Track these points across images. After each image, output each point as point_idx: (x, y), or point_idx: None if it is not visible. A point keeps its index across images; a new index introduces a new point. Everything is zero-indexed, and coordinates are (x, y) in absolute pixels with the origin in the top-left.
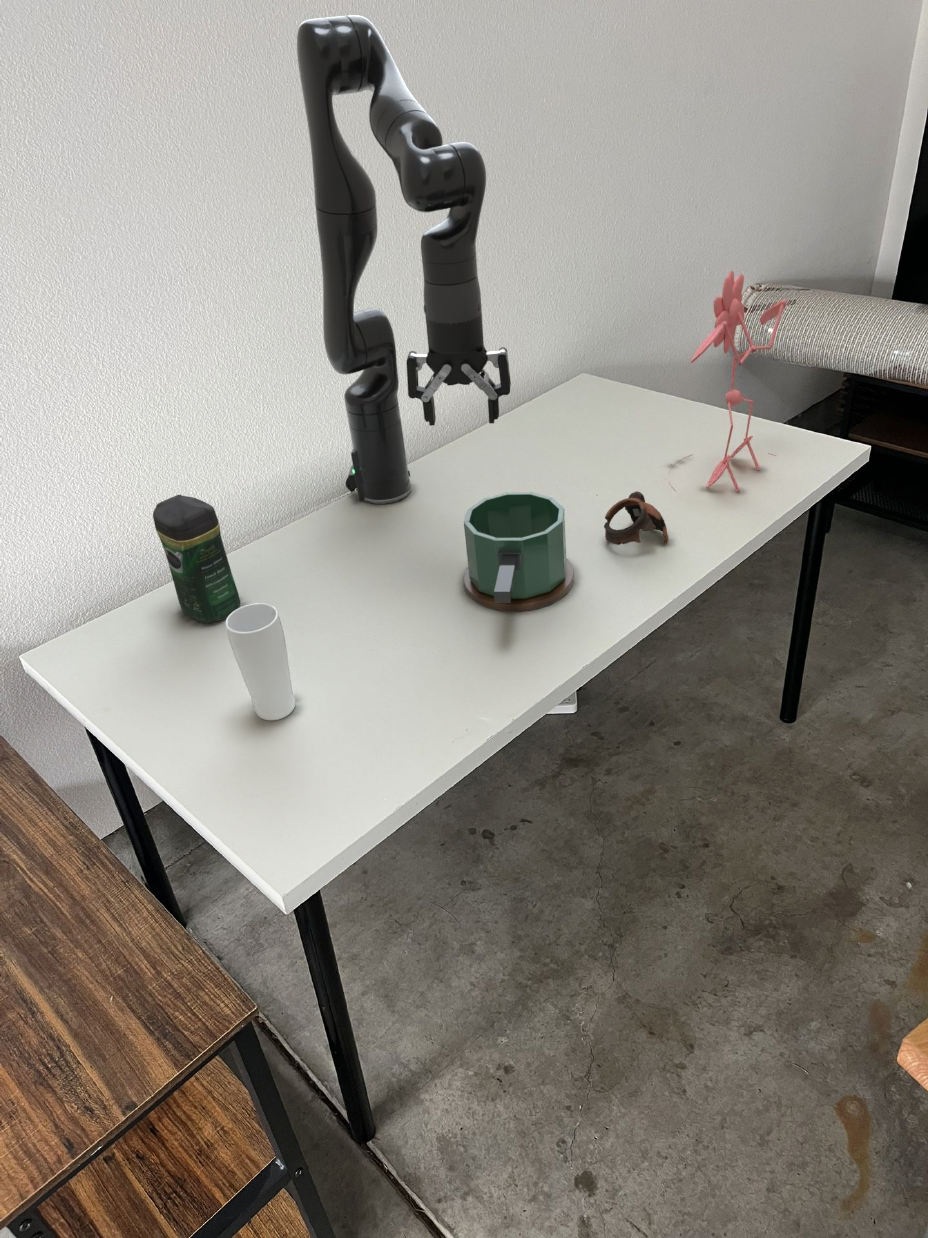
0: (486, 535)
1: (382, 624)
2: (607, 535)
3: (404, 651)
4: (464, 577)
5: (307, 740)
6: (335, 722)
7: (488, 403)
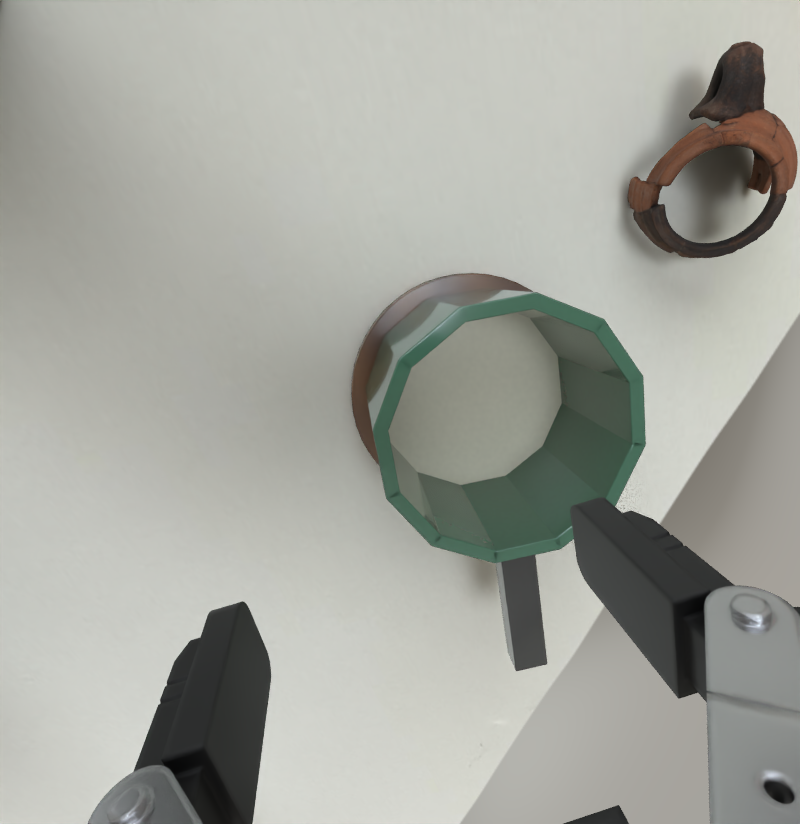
0: (467, 546)
1: (252, 578)
2: (646, 222)
3: (327, 631)
4: (359, 428)
5: (277, 817)
6: (297, 782)
7: (666, 679)
